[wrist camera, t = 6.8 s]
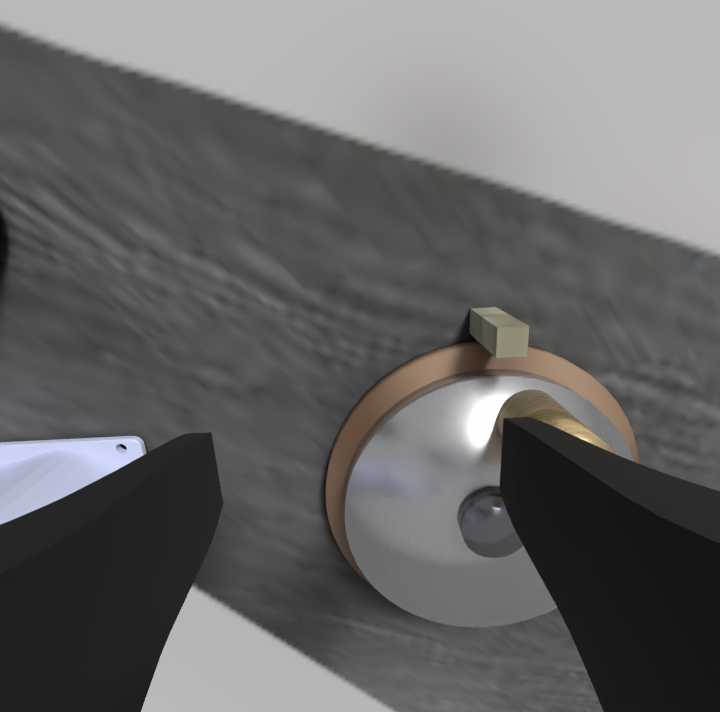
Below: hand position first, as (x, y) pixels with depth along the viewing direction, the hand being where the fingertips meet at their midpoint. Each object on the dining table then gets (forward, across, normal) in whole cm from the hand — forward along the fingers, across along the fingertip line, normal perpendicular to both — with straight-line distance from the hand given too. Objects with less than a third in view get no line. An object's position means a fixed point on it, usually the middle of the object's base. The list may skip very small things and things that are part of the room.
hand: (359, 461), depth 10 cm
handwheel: (+9, -6, +8) cm, 14 cm away
